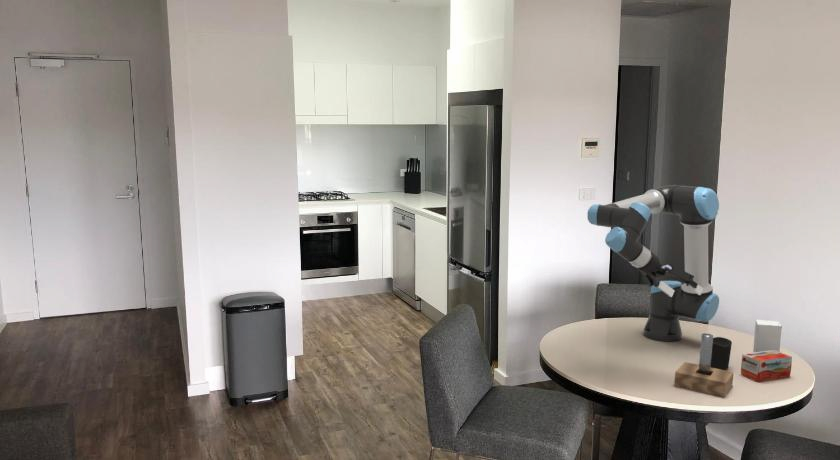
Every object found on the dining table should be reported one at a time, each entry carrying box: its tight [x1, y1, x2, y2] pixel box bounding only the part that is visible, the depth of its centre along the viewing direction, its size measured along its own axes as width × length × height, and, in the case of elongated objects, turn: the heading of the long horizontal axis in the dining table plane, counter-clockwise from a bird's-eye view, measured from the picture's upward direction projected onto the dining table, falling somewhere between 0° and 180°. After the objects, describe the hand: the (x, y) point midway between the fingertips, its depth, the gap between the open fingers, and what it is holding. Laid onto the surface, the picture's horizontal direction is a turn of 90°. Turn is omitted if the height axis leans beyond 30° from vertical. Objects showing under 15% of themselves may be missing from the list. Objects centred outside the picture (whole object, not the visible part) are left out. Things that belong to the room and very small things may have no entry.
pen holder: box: [711, 336, 733, 371], centre depth 250 cm, size 9×9×10 cm
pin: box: [698, 333, 714, 376], centre depth 231 cm, size 4×4×18 cm
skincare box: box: [752, 319, 783, 353], centre depth 255 cm, size 8×7×16 cm
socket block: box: [673, 361, 734, 398], centre depth 232 cm, size 16×12×5 cm
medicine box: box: [740, 350, 793, 383], centre depth 242 cm, size 15×8×8 cm, turn 110°
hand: (686, 292), depth 241 cm, fingers open, 13 cm apart
